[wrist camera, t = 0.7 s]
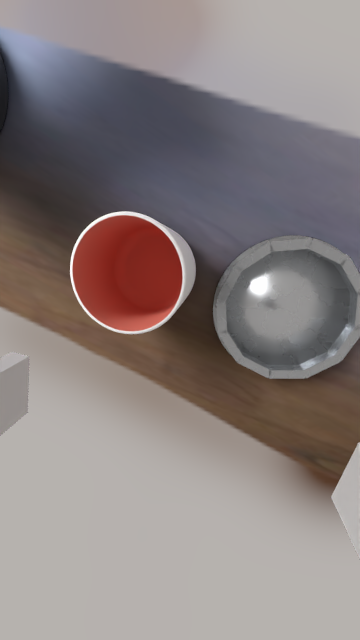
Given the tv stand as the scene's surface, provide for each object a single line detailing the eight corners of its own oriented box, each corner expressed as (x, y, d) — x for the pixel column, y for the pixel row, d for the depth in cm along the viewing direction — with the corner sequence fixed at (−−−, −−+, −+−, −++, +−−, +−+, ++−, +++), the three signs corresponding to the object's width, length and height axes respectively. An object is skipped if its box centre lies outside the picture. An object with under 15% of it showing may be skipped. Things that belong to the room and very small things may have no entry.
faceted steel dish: (187, 288, 30) (184, 291, 28) (315, 204, 26) (324, 199, 24) (256, 394, 32) (259, 405, 30) (385, 330, 28) (401, 337, 26)
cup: (120, 219, 29) (72, 201, 20) (204, 234, 29) (197, 222, 19) (111, 301, 32) (65, 321, 23) (188, 318, 31) (174, 345, 22)
